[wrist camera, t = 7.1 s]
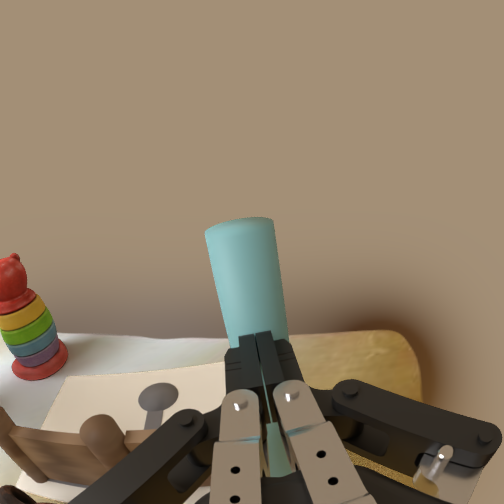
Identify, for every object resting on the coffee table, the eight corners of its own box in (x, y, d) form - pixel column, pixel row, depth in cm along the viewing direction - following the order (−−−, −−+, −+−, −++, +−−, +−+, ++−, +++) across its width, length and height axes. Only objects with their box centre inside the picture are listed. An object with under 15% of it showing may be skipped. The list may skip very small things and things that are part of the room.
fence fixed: (28, 480, 17) (-23, 425, 14) (36, 460, 20) (-10, 404, 17) (158, 499, 18) (111, 445, 15) (160, 472, 20) (119, 414, 18)
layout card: (16, 489, 15) (14, 487, 15) (68, 377, 34) (67, 375, 34) (317, 498, 17) (317, 497, 17) (275, 353, 36) (275, 351, 36)
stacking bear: (51, 340, 44) (15, 246, 39) (82, 351, 41) (40, 244, 35) (10, 372, 35) (-36, 272, 29) (36, 391, 31) (-21, 275, 25)
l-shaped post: (160, 497, 17) (25, 280, 11) (161, 469, 20) (52, 259, 14) (306, 478, 18) (280, 228, 12) (297, 450, 21) (266, 213, 15)
